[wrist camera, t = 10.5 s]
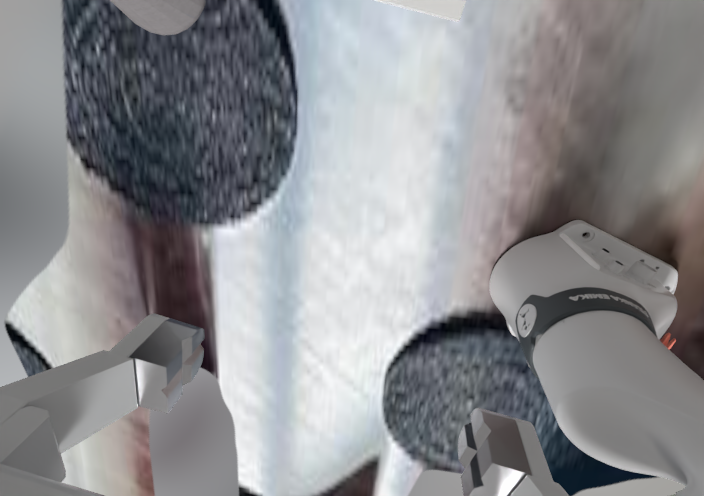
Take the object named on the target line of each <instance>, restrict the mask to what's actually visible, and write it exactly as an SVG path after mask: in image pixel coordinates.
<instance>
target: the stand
mask: <svg viewBox="0 0 704 496" xmlns="http://www.w3.org/2000/svg"><path fill="white" fill-rule="evenodd" d="M374 1H377V2H381V3H385V4H389V5H393V6H397V7H401V8H405V9H408V10H412V11H416V12H420V13H424V14H428V15H432V16H436V17H440V18H443V19H447V20H451V21H455V22H459V21H460V18H461V15H462V12H463V9H464V5H465V2H466V0H374Z"/></svg>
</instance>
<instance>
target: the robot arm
mask: <svg viewBox="0 0 704 496" xmlns="http://www.w3.org/2000/svg"><path fill="white" fill-rule="evenodd" d="M585 232H588V233H587V235H585V236H582V235H583V234H584V233H585ZM677 281H678V272H677V270H676V269H675V268H674V267H672V266H671V265H669V264H667V263H666V262H664V261H662V260H660V259H658V258H656V257H654V256H652V255H650V254H648V253H646V252H644V251H642V250H640V249H638V248H636V247H634V246H632V245H630V244H628V243H626V242H624V241H622V240H620V239H618V238H616V237H614V236H612V235H610V234H608V233H606V232H604V231H602V230H600V229H598V228H596V227H594V226H592V225H590V224H588V223H586V222H584V221H582V220H574V221H571V222H569V223H567V224H565V225H563V226H562V227H560V228H559V229H557V230H556V231H554V232H551V233H548V234H545V235H540V236H536V237H533V238H530V239H527V240H525V241H523V242H521V243H519V244H517V245H515V246H514V247H512V248H511V249H510V250H508V251H507V252H506V253H505V254H504V255H503V256H502V257H501V258H500V259H499V261H498V262H497V264H496V265H495V267H494V269H493V271H492V274H491V277H490V294H491V297H492V300H493V302H494V303H495V305H496V306H497V308H498V309H499V310H500V311H501V312H502V314H503V315H504V317H505V318H506V322H507V326H508V329H509V331H510V332H511V334H512V335H513V336H516V337H517V339H518V340H519V342H520V345H521V348H522V350H523V353H524V355H525V358H526V360H527V364H528V366H529V367H530V368H531V370H532V372H533V374H534V375H535V376H536V377H537V378H538V379H539V380H540V382H541V384H542V387H543V389H544V392H545V394H546V396H547V399H548V401H549V403H550V406H551V408H552V410H553V413H554V415H555V417H556V420H557V422H558V425H559V426H560V428H561V430H562V431H563V432H564V434H565V435H566V436H567V438H568V439H569V440H570V441H571V442H572V443H573V444H574V445H575V446H577V447H578V448H579V449H580V450H582V451H583V452H585V453H586V454H588V455H589V456H591V457H593V458H595V459H597V460H599V461H602V462H604V463H606V464H608V465H611V466H613V467H616V468H620V469H623V470H626V471H631V472H636V473H642V474H648V475H654V476H659V477H663V478H667V479H670V480H673V481H676V482H678V483H681V484H683V485H685V486H686V487H685V488H684V489H683V490H681V491H678V492H676V494H674V495H671V496H704V380H703V379H701V378H700V377H699V376H698V375H697V374H696V373H694V372H693V371H692V370H691V369H690V368H689V367H688V366H686V365H685V364H684V363H683V362H682V361H681V360H680V359H679V358H677V357H676V356H675V355H674V354H673V353H672V352H671V351H670V350H669V349H670V348H671V347H672V346H673V344H674V343H675V341H676V339H673V340H671V341H670V342H669V343H668V341H669V339H670V336H671V334H670V333H667V334H666V335H665V336H664V337H663V338H662V339H661V341H660V340H659V339H660V338H661V337H662V335H663V334H664V333H665V332H666V330H667V329H668V328H669V326H670V325H671V323H672V321H673V319H674V317H675V315H676V311H677V300H676V298H675V296H674V295H673V294H674V292H675V289H676V286H677ZM665 287H666V288H665ZM203 339H204V330H203V329H202V328H199V327H196V326H193V325H190V324H187V323H183V322H180V321H177V320H174V319H171V318H167V317H164V316H160V315H157V314H151V315H149V316H147V317H146V318H145V319H144V320H143V321H142V322H141V323H140V324H138V325H137V326H136V327H135V328H134V329H133V330H132V331H131V332H130V333H129V334H127V335H126V336H125V337H124V338H123V339H122V340H121V341H120V342H119V343H118V344H117V345H115V346H114V347H113V348H112V349H111V350H110V351H109V352H108V351H105V350H103V351H100V352H97V353H94V354H92V355H89V356H86V357H83V358H80V359H78V360H75V361H72V362H69V363H67V364H64V365H61V366H58V367H55V368H53V369H50V370H47V371H44V372H41V373H39V374H36V375H33V376H30V377H27V378H25V379H22V380H19V381H16V382H14V383H11V384H8V385H5V386H2V387H0V496H104V495H101V494H98V493H94V492H91V491H88V490H85V489H81V488H78V487H75V486H71V485H68V484H65V483H62V481H63V479H64V478H65V475H66V471H65V467H64V464H63V460H62V457H61V453H63V452H64V451H66V450H68V449H70V448H71V447H73V446H75V445H76V444H78V443H80V442H81V441H83V440H85V439H86V438H88V437H90V436H91V435H93V434H95V433H96V432H98V431H100V430H101V429H103V428H105V427H106V426H108V425H110V424H111V423H113V422H115V421H116V420H118V419H120V418H121V417H123V416H125V415H127V414H128V413H130V412H132V411H133V410H135V409H137V408H138V406H140V407H144V408H148V409H151V410H155V411H159V412H163V413H166V414H168V413H169V411H170V410H171V409H172V408H173V406H174V405H175V403H176V402H177V401H178V399H179V398H180V397H181V395H182V386H183V385H185V384H187V383H189V382H191V381H192V380H193V378H194V377H195V375H196V374H197V372H198V370H199V368H200V366H201V363H202V360H203V355H204V349H203V348H202V346H201V345H200V343H201V342H202V341H203ZM470 417H471V423H469V424H466V425H464V427H463V429H462V431H461V432H460V436H459V441H458V456H459V461H460V462H461V464H462V465H463V467H464V468H465V471H464V472H463V474H462V476H461V480H462V487H463V495H464V496H569V495H568V494H567V493H566V491H565V490H564V489H563V488H562V487H561V486H560V484H558V483H555V482H553V479H552V476H551V474H550V471H549V468H548V465H547V462H546V460H545V457H544V454H543V451H542V448H541V445H540V443H539V440H538V437H537V434H536V431H535V429H534V426H533V425H532V424H531V423H530V422H527V421H523V420H520V419H516V418H511V417H510V416H506V415H502V414H499V413H495V412H492V411H488V410H484V409H481V408H476V409H474V410H473V412H472V414H471V415H470Z"/></svg>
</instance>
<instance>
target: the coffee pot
mask: <svg viewBox="0 0 704 496" xmlns="http://www.w3.org/2000/svg"><path fill="white" fill-rule="evenodd" d="M110 1H111V2H112V3H114V4H115V5H116V6H117V7H118V8H119V9H120V10H121V11H122V12H123V13H124V14H125V15H127V16H128V17H129V18H130V19H131V20H132V21H133V22H134V23H135V24H137V25H138V26H140V27H142V28H144V29H146V30H147V31H149V32H152V33H156V34H160V35H173V34H178V33H180V32H182V31H184V30H187V29H188V28H189V27H190V26H191V25H192V24H193V23H194V22H195V21H196V20H197V19H198V18H199V16H200V14H201V12H202V11H203V9H204V7H205V3H206V0H110Z"/></svg>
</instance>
